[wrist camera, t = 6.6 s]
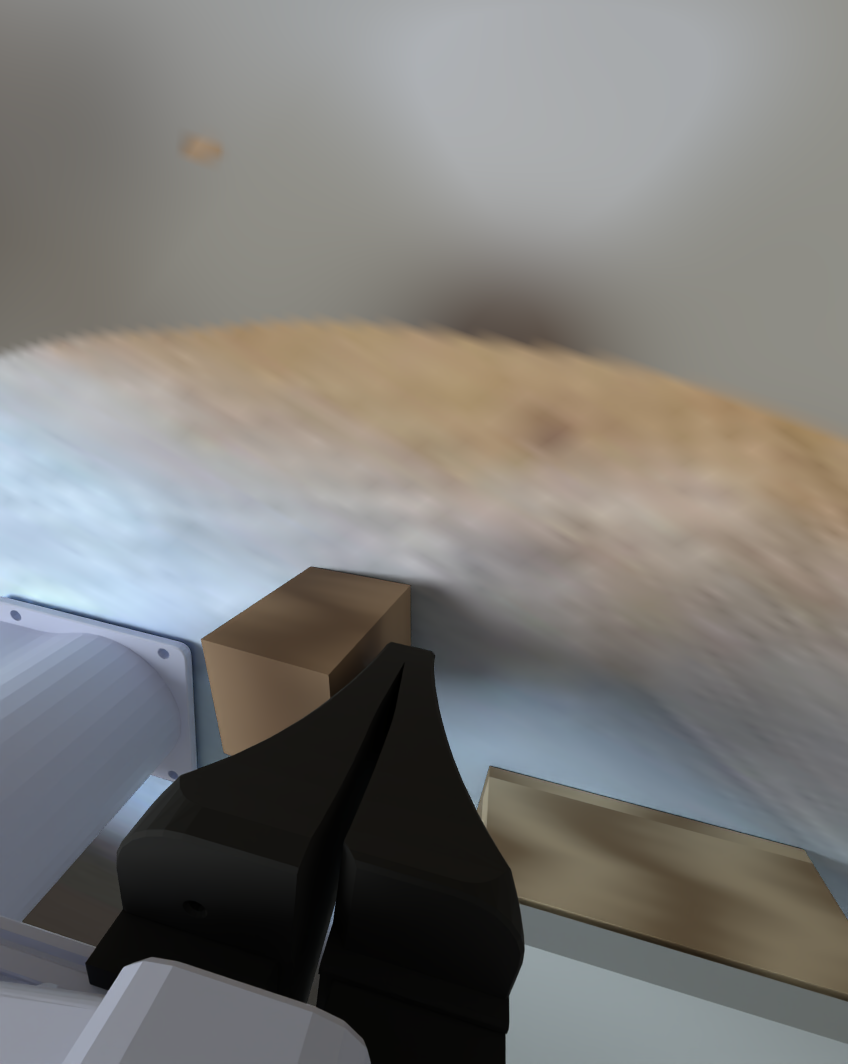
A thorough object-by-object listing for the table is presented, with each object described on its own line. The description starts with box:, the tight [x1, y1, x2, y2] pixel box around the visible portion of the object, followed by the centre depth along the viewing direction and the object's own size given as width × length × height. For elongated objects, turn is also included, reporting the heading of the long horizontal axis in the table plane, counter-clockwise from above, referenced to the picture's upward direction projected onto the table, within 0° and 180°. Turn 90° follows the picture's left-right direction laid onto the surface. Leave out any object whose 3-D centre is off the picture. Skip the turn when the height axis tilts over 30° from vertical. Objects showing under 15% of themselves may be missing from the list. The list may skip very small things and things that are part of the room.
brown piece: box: [477, 766, 848, 1002], centre depth 18 cm, size 12×14×4 cm
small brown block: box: [201, 567, 411, 756], centre depth 14 cm, size 4×4×5 cm
